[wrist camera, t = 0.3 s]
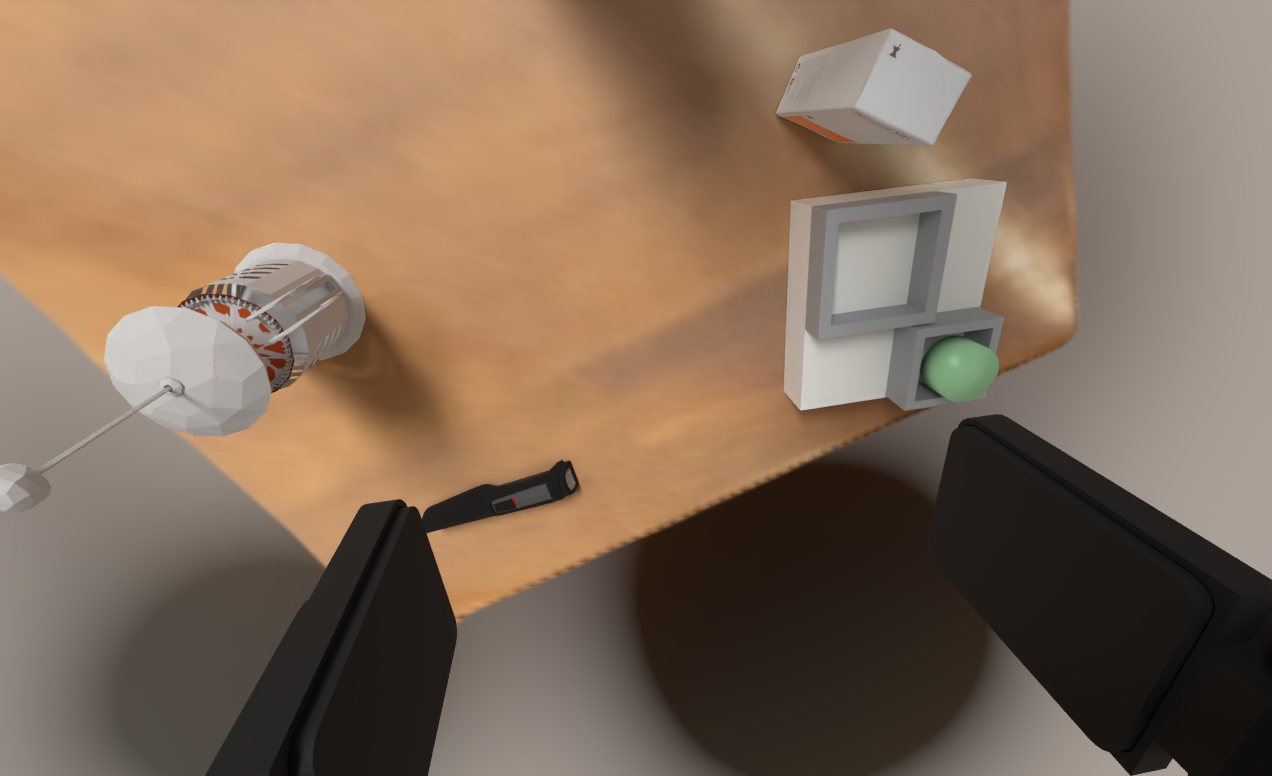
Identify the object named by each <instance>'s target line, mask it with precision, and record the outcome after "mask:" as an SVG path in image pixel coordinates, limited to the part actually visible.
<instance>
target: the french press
mask: <svg viewBox="0 0 1272 776" xmlns="http://www.w3.org/2000/svg"><path fill="white" fill-rule="evenodd" d="M226 278H230V279H227V280H226ZM226 283H228V284H227V286H226V295H223V294H222V290H223V287H224V284H226ZM215 284H219V285H218V287H217V292H216V294H212V292H213V289H214V285H215ZM208 285H209V287H208V289H207V291H206V294H202V295H201V293H202V290H203V287H205V286H203V287H201V288H199V289H196V290H194V291H192V292H191V293H190V295H189V296H188V297H187V298H186V300H185V301H182V302H181V304H180V305H179V306H178V307H158V306H151V307H148V308H146V309H143V310H140V311H137V312H134V313H131V314H128V315H126V316H124V317H123V318H122V319H121V320H120V321H119V322H118V324H117V325H116V326H115V327H114V328H113V329H112V330H111V331H110V333H109V334H108V335H107V341H106V349H105V356H104V362H105V365H106V367H107V370H108V372H109V375H110V377H111V380H112V382H113V385H114V387H115V388H116V389H117V390H118V391H119V393H120V394H121V395H122V396H123V397H124V398H125V399H126V400H127V401H128V402H129V404H130V405H131V406H132V407H133V409H131V410H130V411H128V412H126V413H125V414H123V415H122V416H120V417H119V418H117V419H115V420H114V421H112V422H111V423H109V424H107V425H106V426H104V427H103V428H101V429H100V430H98V431H97V432H95V433H93V434H92V435H90V436H89V437H87V438H85V439H84V440H82V441H81V442H79V443H77V444H76V445H74V446H73V447H71V448H70V449H68V450H66V451H65V452H63V453H62V454H60V455H59V456H57V457H55V458H54V459H53V460H51V461H49V462H47V463H46V464H44V465H43V466H41V467H40V468H38V469H36V470H33V469H31V468H29V467H27V466H24V465H20V464H4V465H1V466H0V511H4V512H22V511H25V510H28V509H31V508H33V507H34V506H36V505H37V504H39V503H40V502H41V501H43V500H44V499H45V498H46V497H47V496H48V495H49V494H50V490H51V486H50V484H49V482H48V480H47V479H46V478H44V477H43V476H42V475H41V474H42V473H44V472H45V471H47V470H48V469H50V468H51V467H53V466H54V465H56V464H58V463H59V462H61V461H62V460H64V459H65V458H67V457H68V456H70V455H71V454H73V453H74V452H76V451H78V450H79V449H81V448H82V447H84V446H85V445H86V444H88V443H90V442H91V441H93V440H94V439H96V438H98V437H99V436H101V435H102V434H104V433H105V432H107V431H108V430H110V429H111V428H113V427H114V426H116V425H117V424H119V423H121V422H122V421H124V420H125V419H127V418H128V417H130V416H131V415H133V414H134V413H136V412H140V413H142V414H143V415H145V416H147V417H148V418H150V419H152V420H154V421H155V422H157V423H158V424H160V425H162V426H164V427H167V428H170V429H174V430H177V431H180V432H184V433H187V434H190V435H194V436H226V435H229V434H232V433H235V432H238V431H241V430H244V429H247V428H249V427H250V426H251V425H252V424H253V423H254V422H255V421H257V420H258V419H259V418H260V417H261V416H262V415H263V414H264V413H265V412H266V408H267V405H268V401H269V397H270V394H271V393H273V392H276V391H277V390H278V389H282V388H285V387H288V386H290V385H291V384H292V383H294V382H295V381H296V380H297V379H298V378H299V377H300V376H299V375H303V374H304V373H305V372H306V371H307V370H308V369H309V368H310V367H311V366H312V365H313V364H314V363H316V362H317V361H318V360H326V359H328V358H331V357H334V356H337V355H340V354H343V353H345V352H346V351H347V350H348V349H349V348H350V347H351V346H352V345H353V344H354V343H355V342H356V341H357V340H358V339H359V338H360V336H361V333H362V330H363V326H364V323H365V320H366V314H365V308H364V301H363V295H362V294H361V292H360V290H359V289H358V287H357V285H356V284H355V282H354V280H353V278H352V277H351V275H350V273H348V272H347V271H346V270H345V269H344V268H342V267H341V266H340V265H339V264H338V263H337V262H335V261H334V260H333V259H332V258H331V257H330V256H328V255H326V254H324V253H321V252H319V251H317V250H314V249H312V248H309V247H307V246H305V245H302V244H288V243H272V244H269V245H266V246H263V247H261V248H258V249H255V250H252V251H250V252H249V254H248V255H247V256H246V257H245V258H244V259H243V260H242V261H241V262H240V263H239V265H238V266H237V267H236V268H235V273H234V274H232V275H230V276H227V277H225V278H223V279H220V280H218V281H215V282H213V283H211V284H208ZM208 285H206V286H208ZM231 292H232V295H231ZM295 358H297V359H295ZM311 362H313V363H312V364H311ZM294 363H306V365H305V366H293V364H294ZM310 364H311V365H310ZM299 369H303V371H302V372H298V373H291V372H292V370H299ZM291 376H299V377H298V378H297V379H289V378H290V377H291ZM288 379H289V380H288Z"/></svg>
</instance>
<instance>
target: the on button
mask: <svg viewBox="0 0 1272 776" xmlns="http://www.w3.org/2000/svg"><path fill="white" fill-rule="evenodd" d="M998 370H999V360H998V357H997V355H996V354H995V352H993V351H992V350H991V349H989V348H987V347H985V346H983V345H981V344H979V343H977V342H975V341H973V340H971V339H969V338H967V337H964V336H960V335H953V336H948V337H945V338H943V339H941V340H939V341H938V342H936V343H935V344H934V345H933V346H931V348H930V349H929V350H928V351H927V352H926V354H925V355H924V357H923V359H922V362H921V366H920V376H921V379H922V381H923V382H924V383H925V384H926V385H927V386H929V387H930V388H932V389H933V390H935V391H936V392H938V393H939V394H941V395H942V396H943V397H945V398H946V399H948V400H950V401H952V402H958V403H959V402H967V401H970V400H973V399H975V398H977V397H979V396H980V395H982V394H983V393H984V392H985V391H986V390H987V389H988V388H989V387H990V386H991V385H992V383H993V382H994V380H995V378H996V376H997V374H998Z"/></svg>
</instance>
